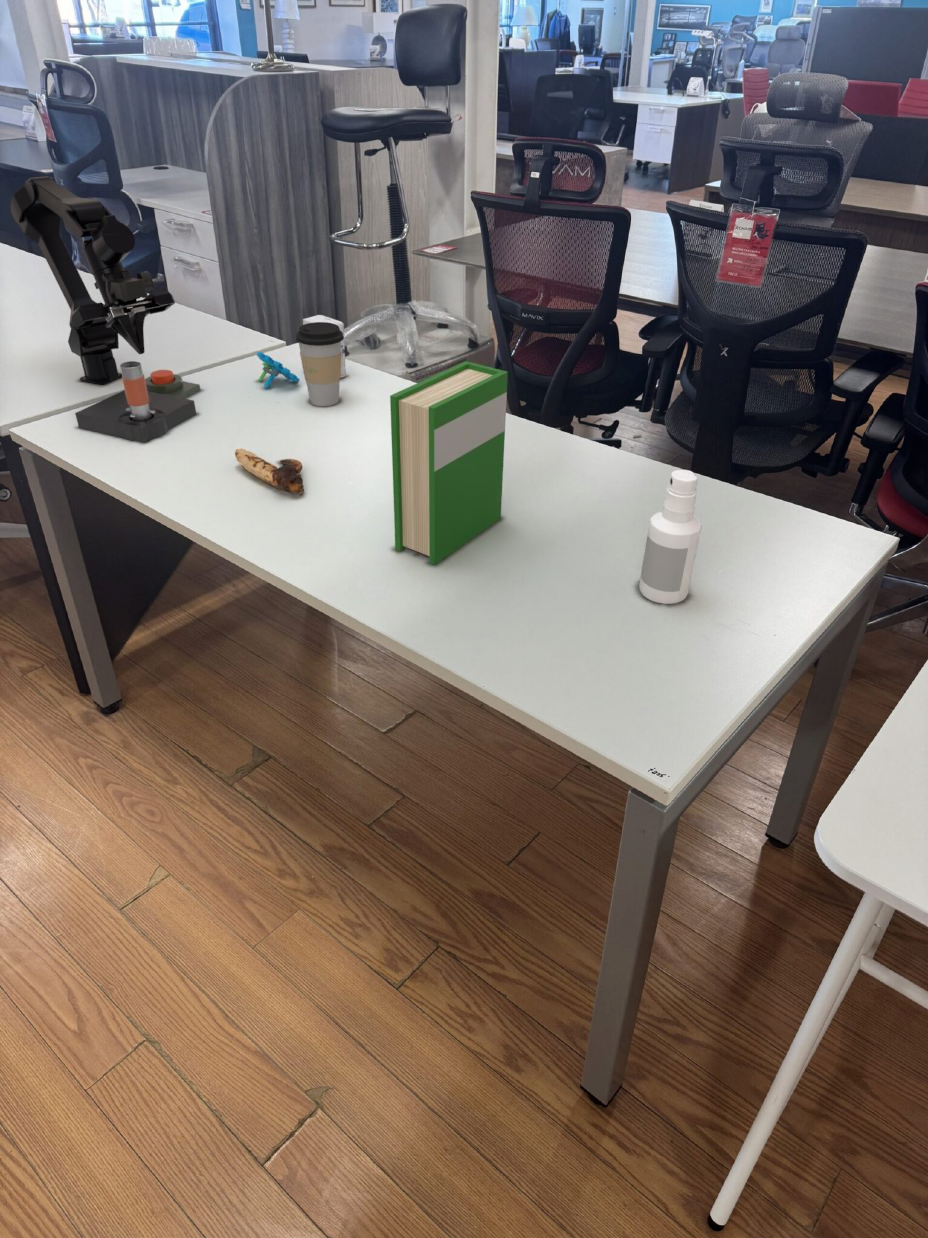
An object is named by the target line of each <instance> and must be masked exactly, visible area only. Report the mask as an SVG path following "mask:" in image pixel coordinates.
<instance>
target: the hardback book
mask: <svg viewBox="0 0 928 1238" xmlns="http://www.w3.org/2000/svg"><path fill="white" fill-rule="evenodd" d="M508 377H509V371H506V370H502V369H499V368H495V367H490V366H486V365H483V364H480V363H475V362H471V361H467V360H465V361H463V362H461V363H458V364H456V365H455V366H452V367H450V368H448V369H445V370H444V371H441V372H439V373H437V374H434V375H432V376H429V377H428V378H425V379H424V380H421V381H419V382H417V383H415V384H412V385H410V386H408V387H405V388H404V389H402V390H399V391H397V392H395V393H392V394H390V395H389V402H390V403H389V404H390V407H389V408H390V432H391V433H390V435H391V463H392V464H391V465H392V489H393V490H392V492H393V520H394V521H393V523H394V524H393V525H394V548H395V549H394V550H396V551H398V552H401V551H403V550H405V549H410V550H413V551H415V552H418V553H420V554H421V555H425V556H428V557H429V564H430V565H434V566H436V565H437V564H438V563H440V562H441V561H443V560H444V559H446V558H447V557H448V556H450V555H451V554H453V553H454V552H455V551H457V550H458V549H460V548H461V547H463V546H464V545H466V544H467V543H468V542H470V541H471V540H473V539H474V538H476V537H477V536H478V535H479V534H481V533H482V532H484V531H485V530H486V529H488V528H490V527H491V526H493V525H494V524H495V523H497V522H498V521H499V520H501V519H502V502H503V501H502V498H503V480H504V479H503V478H504V462H505V461H504V459H505V458H504V457H505V439H506V437H505V436H506V419H507V418H506V417H507V397H508V396H507V395H508V379H509V378H508Z"/></svg>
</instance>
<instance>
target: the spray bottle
mask: <svg viewBox="0 0 928 1238" xmlns="http://www.w3.org/2000/svg"><path fill="white" fill-rule="evenodd" d="M698 481H699V478H698V477H697V476H696V475H695V474H694V472H693V471H692V470H688V469H676V470H673V471H672V472H671V473H670V478H669V483H668V485H667V487H666V490H665V496H664V502H663V505H662V510H660V511H658V512H656V513H654V514H653V515H652V516H651V518H650V519H649V524H648V528H647V536H646V541H645V548H644V554H643V560H642V566H641V571H640V577H639V584H638V587H639V592H640V594H642V596H643V597H644V598H646V599H648V600H650V601H652V602H654V603H658V604H665V605H671V604H677V603H681V602H683V601H684V600H685V599H686V598H687V597H688V594H689V590H690V586H691V581H692V575H693V571H694V566H695V561H696V558H697V551H698V549H699V548H698V547H699V543H700V537H701V532H702V528H703V527H702V524H701V521H700V520H699V518H697V517H696V516H695V515H694V513H695V504H696V499H697V495H698V491H697V485H698Z"/></svg>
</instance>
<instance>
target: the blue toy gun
mask: <svg viewBox="0 0 928 1238" xmlns="http://www.w3.org/2000/svg"><path fill="white" fill-rule="evenodd" d="M256 357H257V358H258V359H259V360H260V361H262V364H261V365H262V366H263V367H262V373H261V375H260V376H259V378H258V381H259V382H262V381H263V380H264V378H265V376H266V375H267V374H268V375H269V377H268V379H267V380H266V381H265V382H264V384H263V386H264V387H265V388H266V389H269V388H270V386H271V384H272V383H273V382H274V379H276V378H278V376H279V375H282V376H284V378H286V379H287V380H291V382H293V383H296V384H298V383H299V382H300V378H298V376H297V375H296V374H295V373H291V369H288V368H287V367H284V366H283V363H281V362H279V361H278V360H274V359H273V357H271V356H270V355H268V354H265V353H264V352H262V351H257V353H256Z"/></svg>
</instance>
